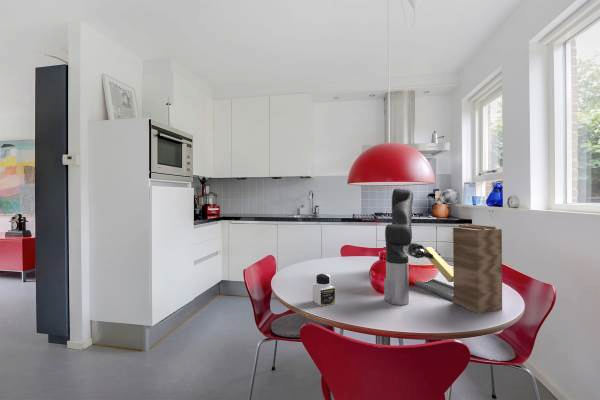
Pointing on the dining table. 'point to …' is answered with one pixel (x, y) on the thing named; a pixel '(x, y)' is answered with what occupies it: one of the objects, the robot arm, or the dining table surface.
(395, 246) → the robot arm
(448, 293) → the tray
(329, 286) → the medicine bottle
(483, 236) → the stand
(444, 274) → the bar
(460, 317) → the dining table surface
